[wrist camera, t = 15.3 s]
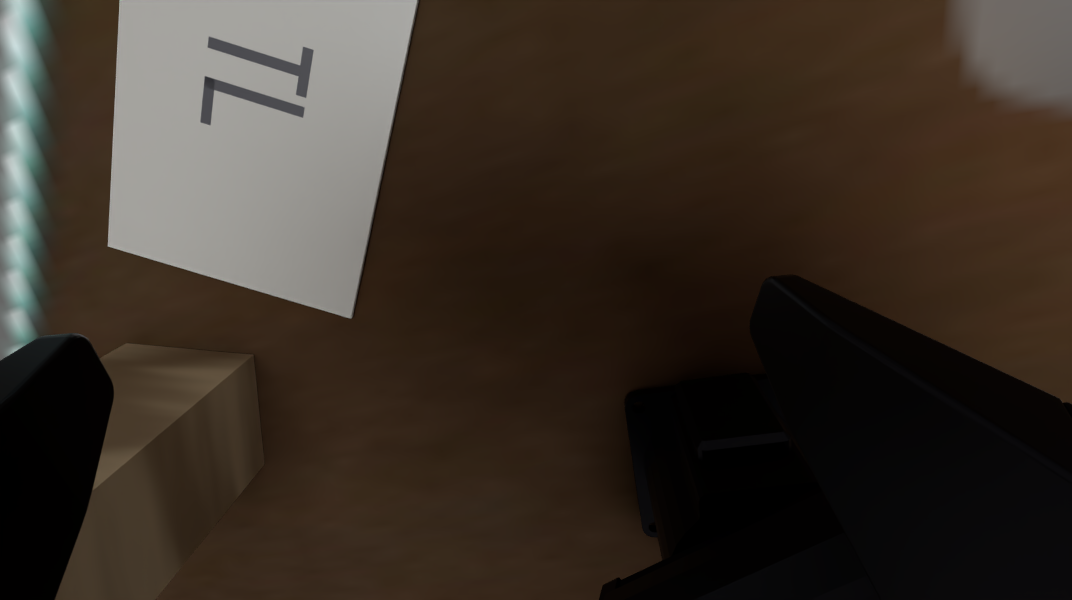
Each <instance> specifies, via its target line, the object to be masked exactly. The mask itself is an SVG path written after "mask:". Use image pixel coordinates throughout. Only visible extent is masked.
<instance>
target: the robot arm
mask: <svg viewBox="0 0 1072 600" xmlns="http://www.w3.org/2000/svg"><path fill="white" fill-rule="evenodd" d="M750 333H751V336H752V339H753V342H754V344H755V347H756V349H757V352H758V354H759V357H760V359H761V362H762V364H763V367H764V369H765V372H766V374H760V375H752V376H751V375H750V374H748V373H741V374H733V375H725V376H718V377H710V378H702V379H695V380H687V381H681V382H680V383H679V384H677V385H675V386H668V387H660V388H652V389H644V390H637V391H633V392H631V393H629V394H628V395H627V396H626V398H625V402H624V405H625V412H626V419H627V426H628V433H629V440H630V447H631V454H632V460H633V467H634V474H635V481H636V488H637V495H638V502H639V509H640V516H641V522H642V529H643V531H644V533H645V534H646V535H648V536H650V537H658V541H659V546H660V551H661V556H662V561H661V562H658V563H656V564H654V565H652V566H650V567H648V568H646V569H644V570H642V571H639V572H637V573H635V574H633V575H631V576H629V577H627V578H625V579H623V580H621V579H620V578H616V579H614V580H612V581H610V582H608V583H606V584H604V585H603V586H602V590H601V594H600V598H599V600H1072V404H1070V403H1068V402H1064V403H1062V401H1061V400H1060V399H1059V398H1057V397H1055V396H1053V395H1051V394H1049V393H1047V392H1045V391H1042V390H1040V389H1038V388H1036V387H1034V386H1032V385H1030V384H1027V383H1025V382H1023V381H1021V380H1019V379H1017V378H1015V377H1012V376H1010V375H1008V374H1006V373H1004V372H1002V371H1000V370H998V369H995V368H993V367H991V366H989V365H987V364H985V363H983V362H980V361H978V360H976V359H974V358H972V357H970V356H968V355H966V354H963V353H961V352H959V351H957V350H955V349H953V348H951V347H948V346H946V345H944V344H942V343H940V342H938V341H936V340H934V339H931V338H929V337H927V336H925V335H923V334H921V333H919V332H916V331H914V330H912V329H910V328H908V327H906V326H904V325H901V324H899V323H897V322H895V321H893V320H891V319H889V318H887V317H884V316H882V315H880V314H878V313H876V312H874V311H872V310H869V309H867V308H865V307H863V306H861V305H859V304H857V303H855V302H852V301H850V300H848V299H846V298H844V297H842V296H840V295H837V294H835V293H833V292H831V291H829V290H827V289H825V288H823V287H820V286H818V285H816V284H814V283H812V282H810V281H808V280H805V279H803V278H801V277H799V276H796V275H781V276H771V277H769V278H767V279H766V280H765V281H764V282H763V284H762V286H761V289H760V292H759V295H758V298H757V301H756V304H755V307H754V310H753V313H752V316H751V319H750ZM113 400H114V386H113V383H112V380H111V378H110V376H109V374H108V372H107V371H106V369H105V367H104V365H103V364H102V362H101V360H100V358H99V357H98V355H97V353H96V351H95V350H94V348H93V346H92V344H91V343H90V341H89V340H88V339H87V338H86V337H85V336H83V335H81V334H78V333H71V334H58V335H47V336H42V337H39V338H37V339H35V340H34V341H32V342H30V343H29V344H27V345H25V346H24V347H22V348H20V349H19V350H17V351H15V352H14V353H12V354H10V355H9V356H7V357H5V358H4V359H2V360H1V361H0V600H55V598H56V595H57V593H58V590H59V587H60V584H61V582H62V579H63V576H64V573H65V571H66V568H67V565H68V563H69V560H70V557H71V554H72V552H73V549H74V546H75V543H76V541H77V538H78V535H79V533H80V530H81V527H82V524H83V521H84V518H85V515H86V512H87V509H88V505H89V501H90V498H91V494H92V490H93V486H94V482H95V477H96V473H97V469H98V465H99V460H100V456H101V452H102V448H103V443H104V439H105V435H106V430H107V426H108V422H109V418H110V413H111V409H112V405H113ZM635 402H642V403H644V405H643V406H642V407H641V408H634V407H633V406H632V405H633V404H634V403H635ZM653 522H655V525H650V524H651V523H653Z"/></svg>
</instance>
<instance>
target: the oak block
mask: <svg viewBox="0 0 1072 600" xmlns="http://www.w3.org/2000/svg"><path fill="white" fill-rule="evenodd" d="M100 360H101V362H102V364H103V365H104V367H105V369H106V371H107V372H108V374H109V376H110V378H111V380H112V383H113V386H114V400H113V405H112V409H111V413H110V418H109V422H108V426H107V430H106V435H105V439H104V443H103V448H102V452H101V456H100V460H99V465H98V469H97V473H96V477H95V482H94V486H93V490H92V494H91V498H90V501H89V505H88V509H87V512H86V515H85V518H84V521H83V524H82V527H81V530H80V533H79V535H78V538H77V541H76V543H75V546H74V549H73V552H72V554H71V557H70V560H69V563H68V565H67V568H66V571H65V573H64V576H63V579H62V582H61V584H60V587H59V590H58V593H57V595H56V598H55V600H155V599H156V598H157V597H158V595H159V594H160V593H161V592H162V590H163V589H164V588H165V587H166V586H167V584H168V583H169V582H170V581H171V579H172V578H173V577H174V576H175V574H176V573H177V572H178V571H179V569H180V568H181V567H182V566H183V565H184V563H185V562H186V561H187V560H188V558H189V557H190V556H191V555H192V553H193V552H194V551H195V550H196V548H197V547H198V546H199V545H200V544H201V542H202V541H203V540H204V539H205V537H206V536H207V535H208V534H209V532H210V531H211V530H212V529H213V527H214V526H215V525H216V524H217V523H218V521H219V520H220V519H221V518H222V516H223V515H224V514H225V513H226V511H227V510H228V509H229V508H230V506H231V505H232V504H233V503H234V502H235V500H236V499H237V498H238V497H239V495H240V494H241V493H242V492H243V490H244V489H245V488H246V487H247V485H248V484H249V483H250V482H251V481H252V479H253V478H254V477H255V476H256V474H257V473H258V472H259V471H260V469H261V468H262V467H263V466H264V464H265V462H264V452H263V442H262V433H261V423H260V413H259V403H258V393H257V383H256V373H255V363H254V355H253V354H241V353H230V352H219V351H208V350H197V349H186V348H175V347H164V346H153V345H141V344H130V343H126V344H124V345H122V346H120V347H119V348H117V349H115V350H113V351H112V352H110V353H108V354H107V355H105V356H103V357H101V358H100Z"/></svg>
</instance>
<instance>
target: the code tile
mask: <svg viewBox="0 0 1072 600" xmlns="http://www.w3.org/2000/svg"><path fill="white" fill-rule="evenodd" d="M418 3H419V0H120V5H119V25H118V46H117V67H116V88H115V109H114V129H113V150H112V171H111V192H110V213H109V233H108V247H112V248H115V249H118V250H122V251H125V252H129V253H132V254H135V255H139V256H142V257H145V258H149V259H152V260H155V261H159V262H162V263H165V264H169V265H172V266H176V267H179V268H182V269H186V270H189V271H192V272H196V273H199V274H202V275H206V276H209V277H212V278H216V279H219V280H223V281H226V282H229V283H233V284H236V285H239V286H243V287H246V288H249V289H253V290H256V291H259V292H263V293H266V294H270V295H273V296H276V297H280V298H283V299H286V300H290V301H293V302H296V303H300V304H303V305H306V306H310V307H313V308H317V309H320V310H323V311H327V312H330V313H333V314H337V315H340V316H343V317H347V318H350V319H351V318H352V317H353V314H354V309H355V304H356V299H357V295H358V290H359V285H360V280H361V276H362V271H363V266H364V261H365V256H366V252H367V247H368V242H369V237H370V233H371V228H372V223H373V218H374V213H375V209H376V204H377V199H378V194H379V190H380V185H381V180H382V175H383V170H384V166H385V161H386V156H387V151H388V147H389V142H390V137H391V132H392V127H393V123H394V118H395V113H396V108H397V104H398V99H399V94H400V89H401V84H402V80H403V75H404V70H405V65H406V61H407V56H408V51H409V46H410V41H411V37H412V32H413V27H414V22H415V18H416V13H417V8H418Z"/></svg>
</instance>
